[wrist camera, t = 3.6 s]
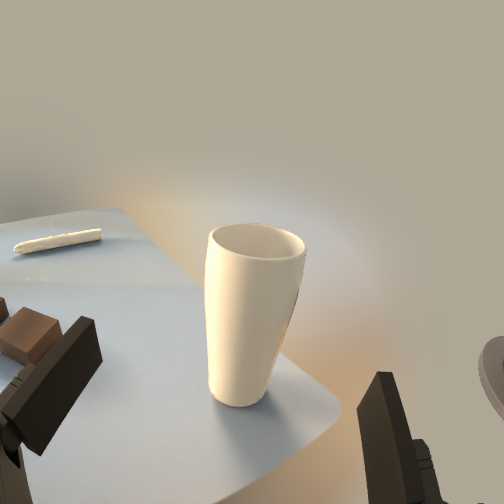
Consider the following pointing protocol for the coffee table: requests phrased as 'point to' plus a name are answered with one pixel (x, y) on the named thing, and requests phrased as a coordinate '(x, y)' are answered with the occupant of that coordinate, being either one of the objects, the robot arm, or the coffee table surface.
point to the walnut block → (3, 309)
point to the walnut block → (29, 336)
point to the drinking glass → (248, 305)
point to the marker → (58, 241)
